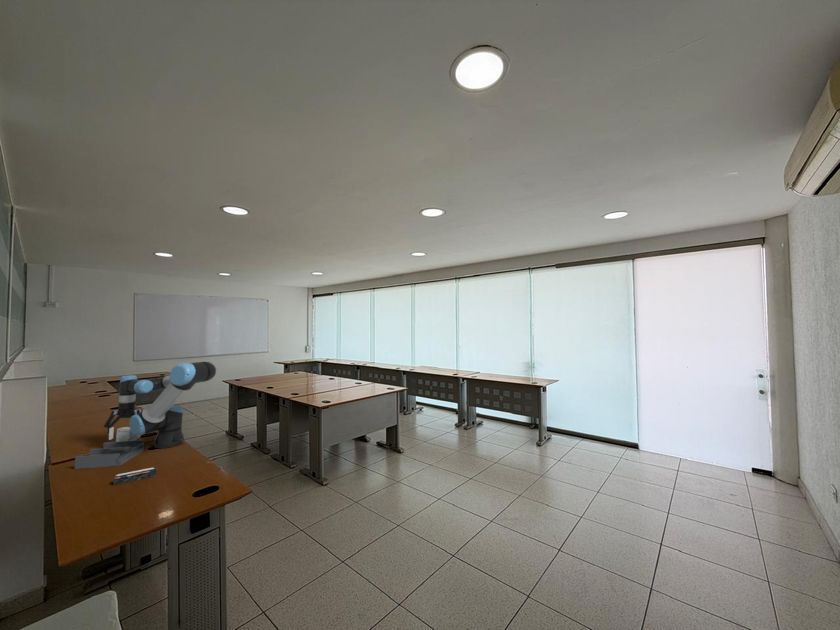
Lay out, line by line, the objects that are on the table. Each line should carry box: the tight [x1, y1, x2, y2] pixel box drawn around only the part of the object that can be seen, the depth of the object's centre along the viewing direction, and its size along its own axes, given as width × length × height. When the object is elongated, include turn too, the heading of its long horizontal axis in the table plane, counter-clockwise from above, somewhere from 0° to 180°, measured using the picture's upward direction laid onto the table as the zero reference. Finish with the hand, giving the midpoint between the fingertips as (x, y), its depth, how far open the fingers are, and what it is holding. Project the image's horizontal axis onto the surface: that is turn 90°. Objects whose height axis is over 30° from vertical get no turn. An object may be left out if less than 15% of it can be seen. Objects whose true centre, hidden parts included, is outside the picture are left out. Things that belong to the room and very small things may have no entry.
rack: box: [74, 439, 145, 470], centre depth 178 cm, size 19×22×6 cm
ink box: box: [115, 426, 137, 442], centre depth 195 cm, size 9×5×12 cm, turn 85°
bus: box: [112, 467, 158, 486], centre depth 153 cm, size 14×25×4 cm, turn 130°
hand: (124, 438), depth 195 cm, fingers open, 13 cm apart
